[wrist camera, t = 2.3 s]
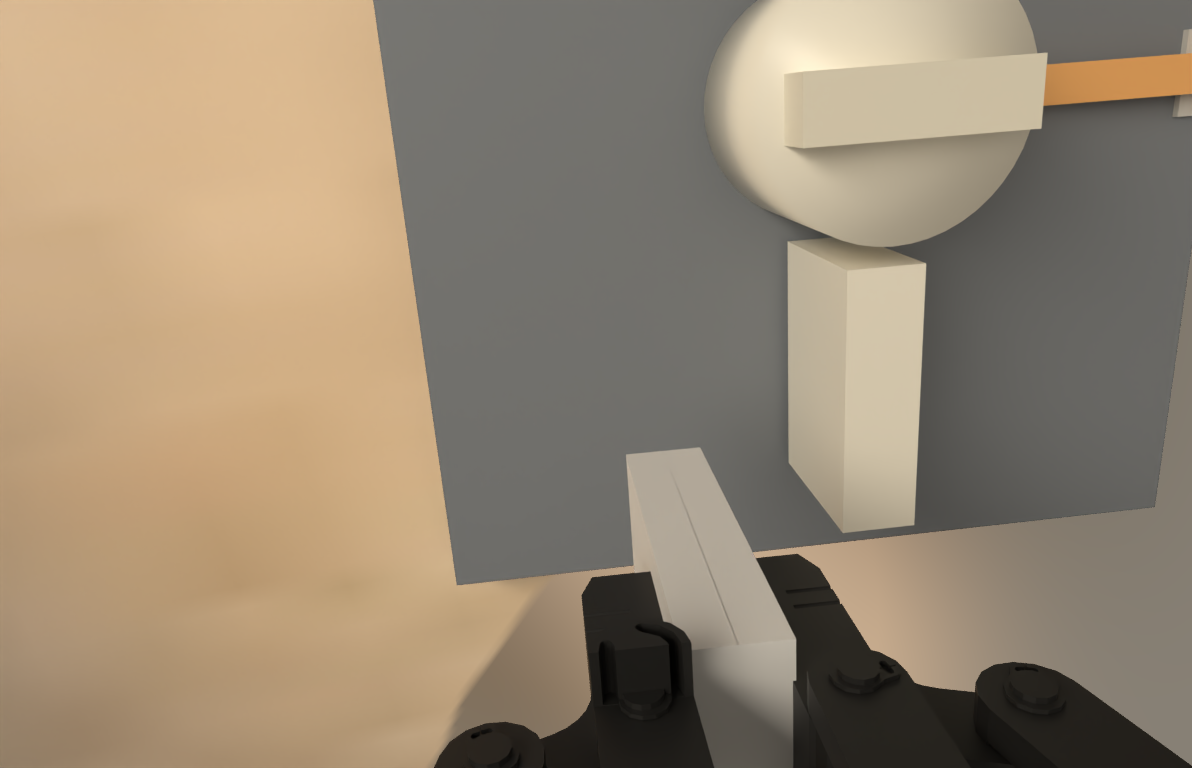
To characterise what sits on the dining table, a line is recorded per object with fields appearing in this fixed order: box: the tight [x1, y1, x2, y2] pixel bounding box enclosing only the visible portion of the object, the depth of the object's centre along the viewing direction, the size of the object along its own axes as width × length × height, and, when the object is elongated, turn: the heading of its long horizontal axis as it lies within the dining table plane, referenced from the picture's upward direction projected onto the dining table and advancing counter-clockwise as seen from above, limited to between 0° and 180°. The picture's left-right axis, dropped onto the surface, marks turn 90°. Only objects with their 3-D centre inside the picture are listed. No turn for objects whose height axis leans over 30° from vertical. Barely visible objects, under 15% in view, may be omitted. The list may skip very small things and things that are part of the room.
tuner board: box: [373, 0, 1192, 585], centre depth 23 cm, size 24×26×2 cm
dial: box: [704, 0, 1192, 533], centre depth 21 cm, size 16×13×6 cm
